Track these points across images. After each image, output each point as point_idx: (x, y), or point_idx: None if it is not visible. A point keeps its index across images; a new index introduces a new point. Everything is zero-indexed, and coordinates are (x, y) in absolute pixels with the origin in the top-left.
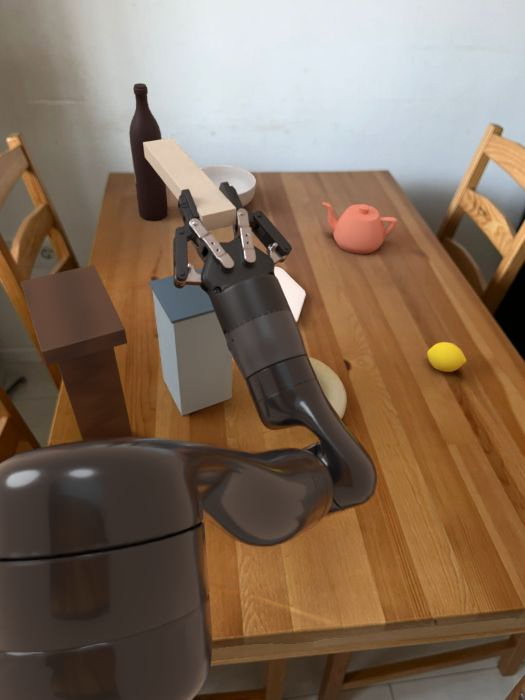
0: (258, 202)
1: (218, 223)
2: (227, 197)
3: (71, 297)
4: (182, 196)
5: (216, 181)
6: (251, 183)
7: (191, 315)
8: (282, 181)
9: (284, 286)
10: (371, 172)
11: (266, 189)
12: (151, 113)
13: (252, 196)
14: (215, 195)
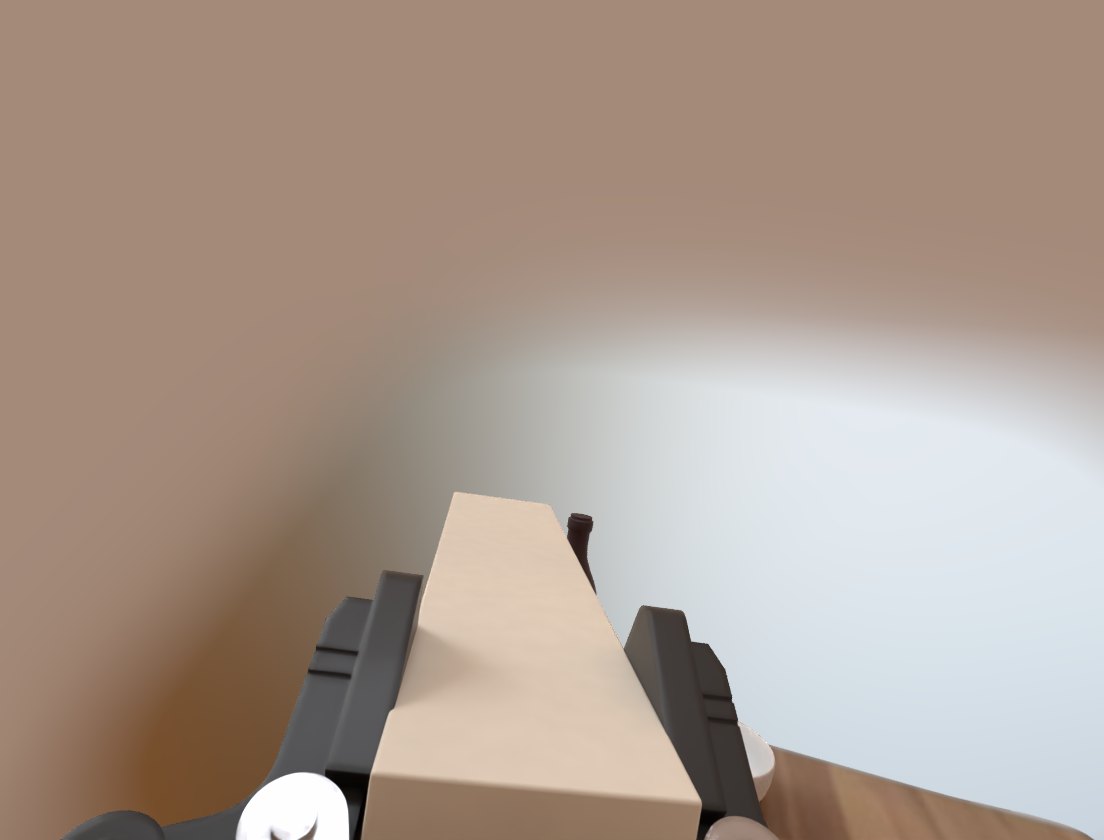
0: (774, 814)
1: None
2: (656, 701)
3: None
4: (362, 606)
5: None
6: (763, 764)
7: None
8: (833, 782)
9: None
10: (1056, 827)
11: (795, 789)
12: (588, 567)
13: (762, 795)
14: (584, 671)
